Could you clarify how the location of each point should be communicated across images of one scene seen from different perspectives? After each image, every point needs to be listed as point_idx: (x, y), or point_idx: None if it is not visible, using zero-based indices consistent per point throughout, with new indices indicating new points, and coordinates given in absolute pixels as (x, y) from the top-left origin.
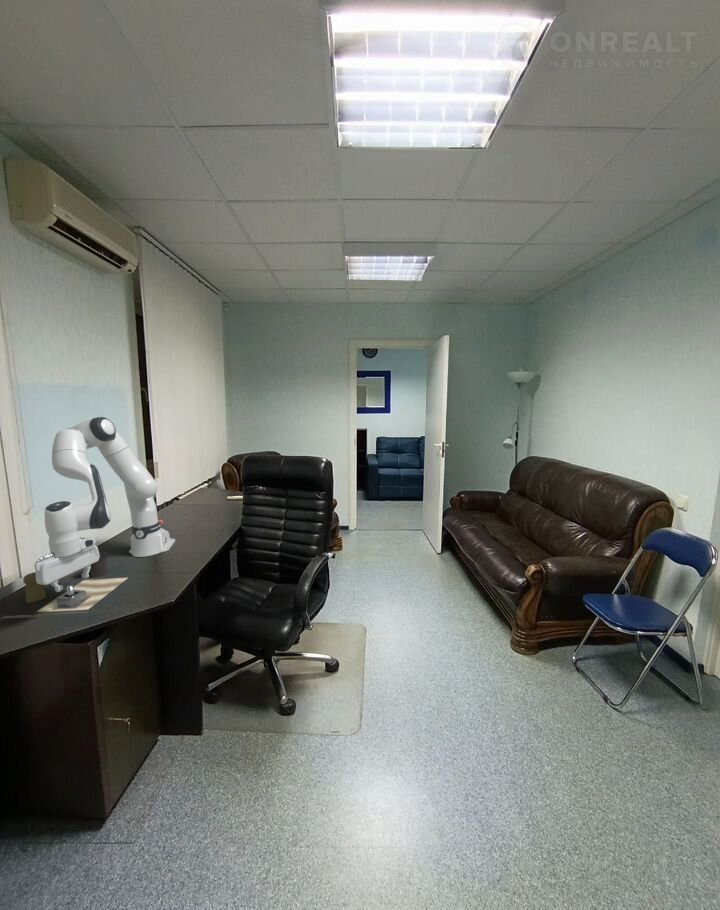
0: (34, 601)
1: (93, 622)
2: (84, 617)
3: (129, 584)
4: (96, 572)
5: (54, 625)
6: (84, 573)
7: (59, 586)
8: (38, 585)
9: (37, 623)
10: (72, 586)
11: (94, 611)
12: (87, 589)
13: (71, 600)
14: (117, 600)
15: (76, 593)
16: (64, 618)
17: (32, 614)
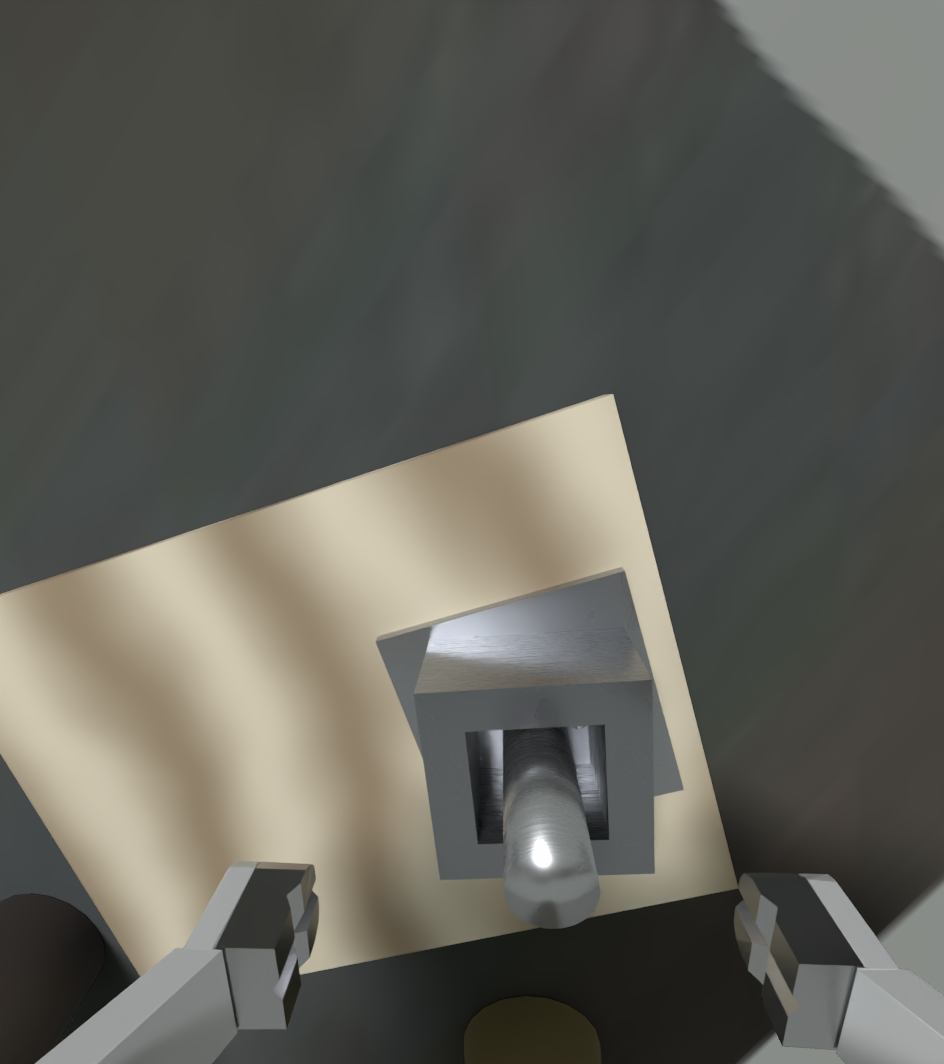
0: (582, 1053)
1: (786, 90)
2: (697, 341)
3: (8, 514)
4: (24, 998)
5: (872, 524)
6: (242, 992)
7: (873, 970)
8: None
9: (846, 724)
10: (540, 854)
11: (569, 349)
12: (275, 816)
13: (629, 666)
14: (308, 301)
15: (472, 766)
16: (740, 552)
17: (711, 902)
